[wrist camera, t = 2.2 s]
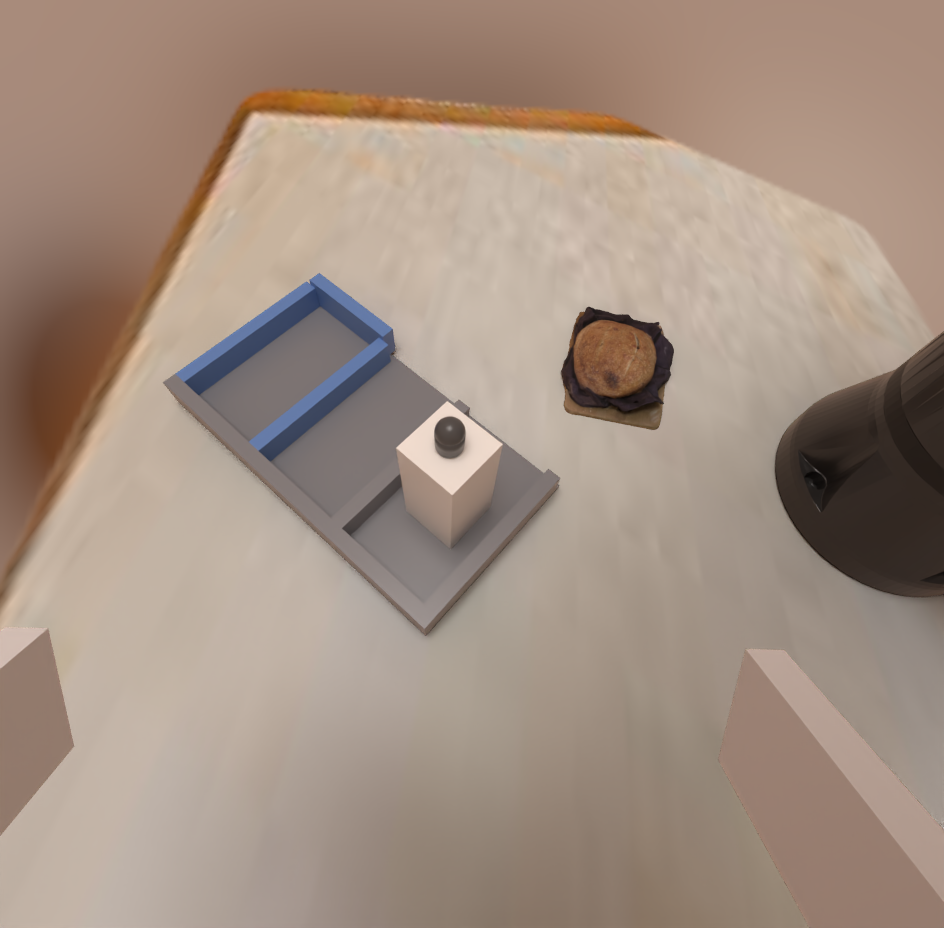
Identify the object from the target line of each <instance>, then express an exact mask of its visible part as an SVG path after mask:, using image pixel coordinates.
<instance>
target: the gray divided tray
mask: <svg viewBox="0 0 944 928" xmlns="http://www.w3.org/2000/svg"><path fill="white" fill-rule="evenodd" d="M310 284H311V285H310ZM310 284H309V283H308V282H307V281H306V282H305V283H304V284H302V285H301V286H299V287H298V288H297V289H295V290H294V291H292V292H291V293H289V294H288V295H287V296H285V297H284V298H282V299H281V300H279V301H278V302H277V303H275V304H274V305H272V306H271V307H270V308H268V309H267V310H265V311H264V312H262V313H261V314H260V315H258V316H257V317H255V318H254V319H252V320H251V321H250V322H248V323H247V324H245V325H244V326H243V327H241V328H240V329H238V330H237V331H235V332H234V333H233V334H231V335H230V336H228V337H227V338H225V339H224V340H223V341H221V342H220V343H218V344H217V345H216V346H214V347H213V348H211V349H210V350H208V351H207V352H206V353H204V354H203V355H201V356H200V357H198V358H197V359H196V360H194V361H193V362H191V363H190V364H189V365H187V366H186V367H184V368H183V369H181V370H180V371H179V372H177V373H176V374H174V375H173V376H171V377H170V378H169V379H167V380H166V381H164V382H163V383H164V384H165V386H166V387H167V388H168V389H169V391H170V392H171V393H172V395H173V396H174V397H175V398H176V400H177V401H178V402H179V403H180V404H181V405H182V406H183V407H184V408H185V409H187V410H188V411H189V412H190V413H191V414H192V415H193V416H194V417H195V418H196V419H197V420H198V421H199V422H200V423H201V424H202V425H203V426H205V427H206V428H207V429H208V430H209V431H210V432H211V433H212V434H213V435H214V436H215V437H216V438H217V439H218V440H219V441H220V442H221V443H222V444H224V445H225V446H226V447H227V448H228V449H229V450H230V451H231V452H232V453H233V454H234V455H235V456H236V457H237V458H238V459H239V460H240V461H242V462H243V463H244V464H245V465H246V466H247V467H248V468H249V469H250V470H251V471H252V472H253V473H254V474H255V475H256V476H257V477H258V478H259V479H261V480H262V481H263V482H264V483H265V484H266V485H267V486H268V487H269V488H270V489H271V490H272V491H273V492H274V493H275V494H276V495H277V496H279V497H280V498H281V499H282V500H283V501H284V502H285V503H286V504H287V505H288V506H289V507H290V508H291V509H292V510H293V511H294V512H295V513H296V514H298V515H299V516H300V517H301V518H302V519H303V520H304V521H305V522H306V523H307V524H308V525H309V526H310V527H311V528H312V529H313V530H314V531H316V532H317V533H318V534H319V535H320V536H321V537H322V538H323V539H324V540H325V541H326V542H327V543H328V544H329V545H330V546H331V547H332V548H333V549H335V550H336V551H337V552H338V553H339V554H340V555H341V556H342V557H343V558H344V559H345V560H346V561H347V562H348V563H349V564H350V565H351V566H353V567H354V568H355V569H356V570H357V571H358V572H359V573H360V574H361V575H362V576H363V577H364V578H365V579H366V580H367V581H368V582H369V583H370V584H372V585H373V586H374V587H375V588H376V589H377V590H378V591H379V592H380V593H381V594H382V595H383V596H384V597H385V598H386V599H387V600H388V601H390V602H391V603H392V604H393V605H394V606H395V607H396V608H397V609H398V610H399V611H400V612H401V613H402V614H403V615H404V616H405V617H406V618H407V619H409V620H410V621H411V622H412V623H413V624H414V625H415V626H416V627H417V628H418V629H419V630H420V631H421V632H422V633H423V634H424V635H425V636H426V635H427V634H428V633H429V632H430V630H431V629H432V628H433V627H434V626H435V625H436V624H437V623H438V621H439V620H440V619H441V618H442V617H443V616H444V615H445V614H446V612H447V611H448V610H449V609H450V608H451V607H452V606H453V605H454V604H455V602H456V601H457V600H458V599H459V598H460V597H461V596H462V595H463V593H464V592H465V591H466V590H467V589H468V588H469V587H470V586H471V585H472V583H473V582H474V581H475V580H476V579H477V578H478V577H479V576H480V574H481V573H482V572H483V571H484V570H485V569H486V568H487V567H488V566H489V564H490V563H491V562H492V561H493V560H494V559H495V558H496V557H497V555H498V554H499V553H500V552H501V551H502V550H503V549H504V548H505V546H506V545H507V544H508V543H509V542H510V541H511V540H512V539H513V538H514V536H515V535H516V534H517V533H518V532H519V531H520V530H521V529H522V527H523V526H524V525H525V524H526V523H527V522H528V521H529V520H530V519H531V517H532V516H533V515H534V514H535V513H536V512H537V511H538V510H539V508H540V507H541V506H542V505H543V504H544V503H545V502H546V501H547V500H548V498H549V497H550V496H551V495H552V494H553V493H554V492H555V491H556V489H557V488H558V487H559V485H558V482H559V480H560V477H558V476H557V475H556V474H554V473H553V472H552V471H551V470H549V469H548V470H547V471H546V472H545V473H543V472H541V471H540V470H539V469H538V468H536V467H535V466H534V465H532V464H531V463H530V462H529V461H527V460H526V459H525V458H523V457H522V456H521V455H520V454H518V453H517V452H516V451H515V450H513V449H512V448H511V447H509V446H508V445H507V444H506V443H504V442H503V441H502V440H500V439H499V438H498V437H497V436H495V435H494V434H493V433H491V432H490V431H489V430H488V429H486V428H485V427H484V426H482V425H481V424H480V423H479V422H477V421H476V420H475V419H473V418H472V417H471V416H470V415H469V410H470V408H469V407H468V406H467V405H465V404H464V403H463V402H461V401H460V400H458V401H457V402H456V403H455V404H454V403H453V402H452V401H450V400H449V399H448V398H447V397H445V396H444V395H443V394H441V393H440V392H439V391H438V390H436V389H435V388H434V387H432V386H431V385H430V384H429V383H427V382H426V381H425V380H423V379H422V378H421V377H420V376H418V375H417V374H416V373H414V372H413V371H412V370H411V369H409V368H408V367H407V366H405V365H404V364H403V363H402V362H400V361H399V360H398V359H396V358H395V357H394V356H393V355H391V353H393V352H394V351H395V344H394V336H393V329H392V328H391V327H389V326H388V325H387V324H385V323H384V322H383V321H381V320H380V319H379V318H378V317H376V316H375V315H374V314H372V313H371V312H370V311H368V310H367V309H366V308H364V307H363V306H362V305H360V304H359V303H358V302H357V301H355V300H354V299H353V298H351V297H350V296H349V295H347V294H346V293H345V292H343V291H342V290H341V289H339V288H338V287H337V286H336V285H334V284H333V283H332V282H330V281H329V280H328V279H326V278H325V277H324V276H322V275H321V274H320V273H319V274H317V275H316V276H314V277H313V278H312V279H310ZM447 401H448V402H449V403H451V404H452V405H453V406H454V407H456V408H457V409H458V410H460V411H461V412H462V413H463V414H465V415H466V416H467V417H468V418H470V419H471V420H472V421H474V422H475V423H476V424H477V425H479V426H480V427H481V428H483V429H484V430H485V431H486V432H488V433H489V434H490V435H492V436H493V437H494V438H495V439H497V440H498V441H499V442H500V443H502V444H503V445H502V450H501V455H500V460H499V465H498V470H497V475H496V480H495V485H494V490H493V495H492V500H491V505H490V508H489V509H488V510H487V511H486V512H485V513H484V514H483V515H482V516H481V517H480V519H479V520H478V521H477V522H476V523H475V524H474V525H473V526H472V527H471V528H470V529H469V530H468V531H467V532H466V533H465V534H464V535H463V537H462V538H461V539H460V540H459V541H458V542H457V543H456V544H455V545H454V546H453V547H452V548H451V549H450V548H448V547H447V546H446V545H445V544H444V543H443V542H442V541H440V540H439V539H438V538H437V537H436V536H435V535H434V534H432V533H431V532H430V531H429V530H428V529H427V528H426V527H424V526H423V525H422V524H421V523H420V522H419V521H418V520H416V519H415V518H414V517H413V516H412V515H411V514H410V513H408V512H407V511H406V505H405V499H404V493H403V487H402V481H401V475H400V469H399V463H398V457H397V451H396V448H397V447H398V446H399V445H400V444H401V443H402V442H403V441H404V440H405V439H406V438H407V437H409V436H410V435H411V434H412V433H413V432H414V431H415V430H416V429H417V428H418V427H419V426H421V425H422V424H423V423H424V422H425V421H426V420H427V419H428V418H429V417H430V416H431V415H433V414H434V413H435V412H436V411H437V410H438V409H439V408H440V407H441V406H442V405H444V404H445V403H446V402H447Z"/></svg>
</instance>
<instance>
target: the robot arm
mask: <svg viewBox="0 0 944 928" xmlns="http://www.w3.org/2000/svg"><path fill="white" fill-rule="evenodd" d="M776 476H777V483H778V487H779V491H780V494H781V497H782V500H783V502H784V505H785V507H786V509H787V511H788V513H789V515H790V517H791V519H792V520H793V522H794V523H795V525H796V526H797V528H798V529H799V531H800V532H801V533H802V535H803V536H804V537H805V538H806V540H807V541H808V542H809V543H810V544H811V545H812V546H813V547H814V548H815V549H816V550H817V551H818V552H819V553H820V554H821V555H822V556H823V557H824V558H825V559H827V560H828V561H829V562H830V563H832V564H833V565H834V566H836V567H837V568H838V569H840V570H841V571H843V572H844V573H846V574H848V575H849V576H851V577H853V578H854V579H856V580H858V581H860V582H862V583H864V584H867V585H869V586H871V587H874V588H876V589H879V590H882V591H886V592H889V593H893V594H897V595H903V596H912V597H929V596H937V595H942V594H944V332H942V333H941V334H940V335H938V336H937V337H936V338H935V339H933V340H932V341H931V342H930V343H928V344H927V345H926V346H925V347H923V348H922V349H921V350H919V351H918V352H917V353H916V354H915V355H914V356H912V357H911V358H910V359H909V360H907V361H906V362H905V363H904V364H902V365H901V366H900V367H899V368H897V369H896V370H894V371H891V372H888V373H886V374H883V375H880V376H878V377H875V378H872V379H869V380H867V381H864V382H861V383H859V384H856V385H853V386H851V387H848V388H845V389H843V390H840V391H837V392H834V393H832V394H830V395H828V396H826V397H824V398H822V399H821V400H819V401H817V402H816V403H814V404H813V405H812V406H811V407H809V408H808V409H807V410H806V411H805V412H804V413H803V414H802V415H800V416H799V417H798V418H797V419H796V420H795V421H794V422H793V423H792V424H791V425H790V426H789V428H788V429H787V430H786V432H785V433H784V435H783V437H782V439H781V442H780V444H779V447H778V451H777V457H776ZM73 747H74V744H73V739H72V735H71V730H70V725H69V721H68V716H67V712H66V707H65V703H64V698H63V694H62V689H61V685H60V680H59V675H58V671H57V666H56V662H55V657H54V653H53V648H52V644H51V639H50V635H49V630H48V628H20V627H5V628H3V629H2V630H1V631H0V835H1V834H2V833H3V832H4V831H5V829H6V828H7V827H8V826H9V825H10V823H11V822H12V821H13V820H14V818H15V817H16V816H17V815H18V814H19V812H20V811H21V810H22V809H23V808H24V806H25V805H26V804H27V803H28V802H29V800H30V799H31V798H32V797H33V795H34V794H35V793H36V792H37V791H38V789H39V788H40V787H41V786H42V785H43V783H44V782H45V781H46V780H47V779H48V777H49V776H50V775H51V774H52V772H53V771H54V770H55V769H56V768H57V766H58V765H59V764H60V763H61V762H62V760H63V759H64V758H65V757H66V755H67V754H68V753H69V752H70V751H71V749H72V748H73ZM718 761H719V762H720V764H721V766H722V768H723V770H724V772H725V773H726V775H727V777H728V779H729V781H730V783H731V784H732V786H733V788H734V790H735V792H736V794H737V795H738V797H739V799H740V801H741V803H742V805H743V806H744V808H745V810H746V812H747V814H748V816H749V818H750V819H751V821H752V823H753V825H754V827H755V829H756V830H757V832H758V834H759V836H760V838H761V840H762V841H763V843H764V845H765V847H766V849H767V851H768V852H769V854H770V856H771V858H772V860H773V862H774V863H775V865H776V867H777V869H778V871H779V873H780V874H781V876H782V878H783V880H784V882H785V884H786V886H787V887H788V889H789V891H790V893H791V895H792V897H793V898H794V900H795V902H796V904H797V906H798V908H799V909H800V911H801V913H802V915H803V917H804V919H805V920H806V922H807V924H808V926H809V928H944V830H943V829H942V828H941V827H940V825H939V824H938V823H937V822H936V821H935V820H934V819H933V818H932V816H931V815H930V814H929V813H928V812H927V811H926V810H925V808H924V807H923V806H922V805H921V804H920V803H919V802H918V801H917V799H916V798H915V797H914V796H913V795H912V794H911V793H910V792H909V790H908V789H907V788H906V787H905V786H904V785H903V784H902V782H901V781H900V780H899V779H898V778H897V777H896V776H895V775H894V773H893V772H892V771H891V770H890V769H889V768H888V767H887V766H886V764H885V763H884V762H883V761H882V760H881V759H880V758H879V757H878V755H877V754H876V753H875V752H874V751H873V750H872V749H871V747H870V746H869V745H868V744H867V743H866V742H865V741H864V740H863V738H862V737H861V736H860V735H859V734H858V733H857V732H856V731H855V729H854V728H853V727H852V726H851V725H850V724H849V723H848V722H847V720H846V719H845V718H844V717H843V716H842V715H841V714H840V712H839V711H838V710H837V709H836V708H835V707H834V706H833V705H832V703H831V702H830V701H829V700H828V699H827V698H826V697H825V696H824V694H823V693H822V692H821V691H820V690H819V689H818V688H817V687H816V685H815V684H814V683H813V682H812V681H811V680H810V679H809V677H808V676H807V675H806V674H805V673H804V672H803V671H802V670H801V668H800V667H799V666H798V665H797V664H796V663H795V662H794V661H793V659H792V658H791V657H790V656H789V655H788V654H787V653H786V652H785V650H771V649H745V653H744V657H743V661H742V665H741V669H740V673H739V677H738V681H737V685H736V689H735V693H734V697H733V701H732V706H731V710H730V714H729V718H728V722H727V726H726V730H725V734H724V738H723V742H722V746H721V750H720V754H719V758H718Z"/></svg>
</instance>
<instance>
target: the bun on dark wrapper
mask: <svg viewBox="0 0 944 928" xmlns="http://www.w3.org/2000/svg"><path fill="white" fill-rule="evenodd" d="M569 346H570V348H569V352H568V356H567V358H566V360H565V361H564V364H563V368H562V370H561V372H562V377H563V379H564V380H563V383H564V388H565V401H564V407H565V410H566V412H568V413H570V414H573V415H581V416H586V417H591V418H596V419H601V420H605V421H611V422H616V423H621V424H626V425H631V426H636V427H641V428H647V429H651V430H655V429H657V428H658V427H659V425H660V421H661V416H662V405H663V404H664V403H663V397H664V389H665V383H666V382H667V381H668V379H669V377H670V375H671V373H670V366H671V365H672V358H673V354H674V349H673V346H672V344H671V343H670V342H669V341H668V339H666V338H665V337H664V334H663V331H662V328H661V326H659V322H656V323H646V322H641V321H637V320H633V319H632V318H631V317H630V316H629V315H623V314H622V315H615V314H612V313H609V312H606V311H602V310H597V309H596V310H595V309H594V308H591V307H587V308H586V310H585V312H580V313H579V316H578V317H577V319H576V323H575V325H574V330H573V332H572V338H571V340H570V344H569Z"/></svg>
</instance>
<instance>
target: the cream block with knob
mask: <svg viewBox="0 0 944 928" xmlns="http://www.w3.org/2000/svg"><path fill="white" fill-rule="evenodd" d="M502 445H503V444H502V443H500V442H499V441H498V440H497V439H495V438H494V437H493V436H492V435H490V434H489V433H488V432H486V431H485V430H484V429H483V428H481V427H480V426H479V425H477V424H476V423H475V422H474V421H472V420H471V419H470V418H468V417H467V416H466V415H465V414H463V413H462V412H461V411H460V410H458V409H457V408H456V407H454V406H453V405H452V404H451V403H449V402H448V401H447V402H446V403H445V404H444V405H442V406H441V407H440V408H439V409H438V410H437V411H436V412H435V413H434V414H433V415H431V416H430V417H429V418H428V419H427V420H426V421H425V422H424V423H423V424H422V425H421V426H419V427H418V428H417V429H416V430H415V431H414V432H413V433H412V434H411V435H410V436H409V437H407V438H406V439H405V440H404V441H403V442H402V443H401V444H400V445H399V446H398V447H397V448H396V451H397V457H398V463H399V469H400V475H401V481H402V487H403V493H404V499H405V505H406V511H407V512H408V513H410V514H411V515H412V516H413V517H414V518H415V519H416V520H418V521H419V522H420V523H421V524H422V525H423V526H424V527H426V528H427V529H428V530H429V531H430V532H431V533H432V534H434V535H435V536H436V537H437V538H438V539H439V540H440V541H442V542H443V543H444V544H445V545H446V546H447V547H448V548H450V549H451V548H452V547H453V546H454V545H455V544H456V543H457V542H458V541H459V540H460V539H461V538H462V537H463V535H464V534H465V533H466V532H467V531H468V530H469V529H470V528H471V527H472V526H473V525H474V524H475V523H476V522H477V521H478V520H479V519H480V517H481V516H482V515H483V514H484V513H485V512H486V511H487V510H488V509H489V508H490V505H491V500H492V495H493V490H494V485H495V480H496V475H497V470H498V465H499V460H500V455H501V450H502Z"/></svg>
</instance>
